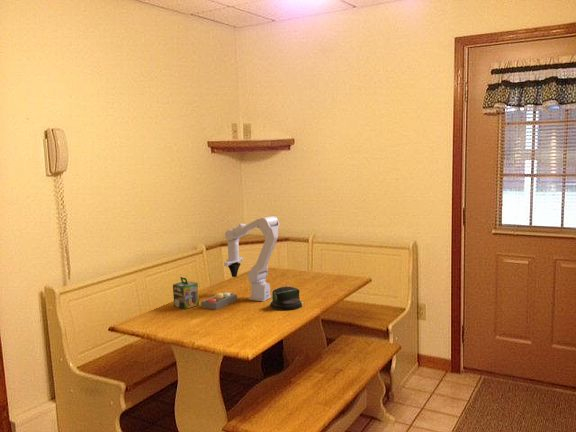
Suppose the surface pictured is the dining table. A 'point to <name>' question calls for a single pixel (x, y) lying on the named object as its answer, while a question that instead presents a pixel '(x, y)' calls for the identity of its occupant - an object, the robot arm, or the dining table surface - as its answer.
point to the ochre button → (219, 296)
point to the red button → (212, 300)
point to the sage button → (226, 294)
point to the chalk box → (185, 294)
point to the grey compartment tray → (219, 302)
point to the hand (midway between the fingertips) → (234, 276)
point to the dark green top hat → (286, 299)
